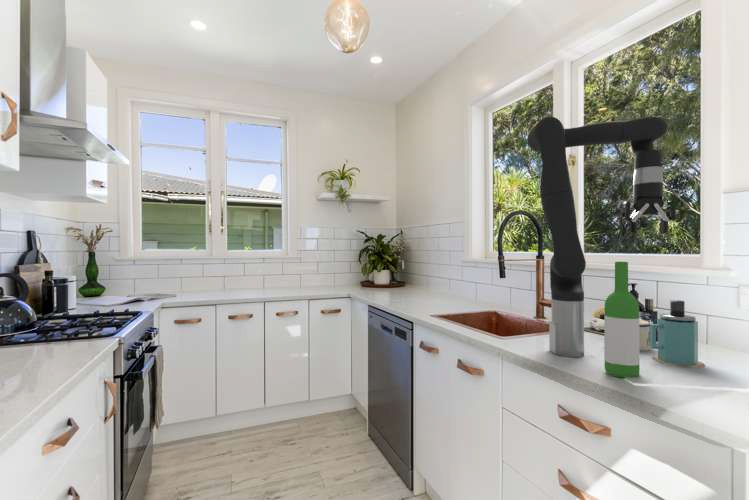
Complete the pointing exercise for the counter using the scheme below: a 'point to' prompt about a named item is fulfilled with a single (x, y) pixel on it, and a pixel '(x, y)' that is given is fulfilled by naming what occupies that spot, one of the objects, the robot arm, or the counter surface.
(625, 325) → the wine bottle
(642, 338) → the teacup with lid
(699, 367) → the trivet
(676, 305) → the knob on metal rod
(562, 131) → the robot arm
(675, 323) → the press pot
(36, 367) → the counter surface
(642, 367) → the counter surface
